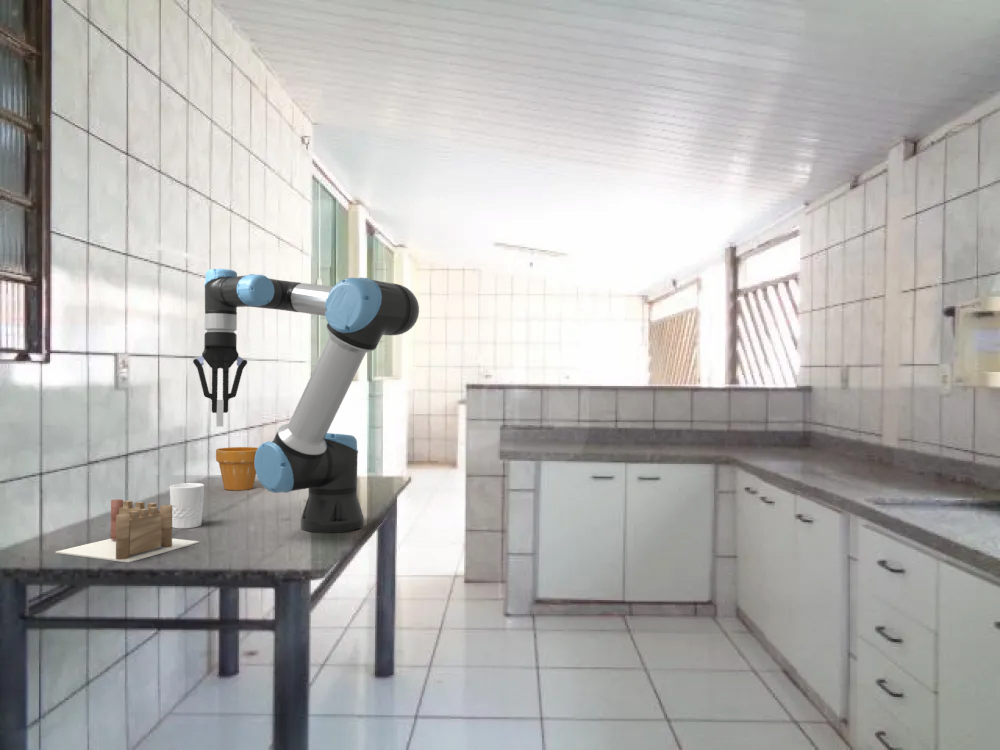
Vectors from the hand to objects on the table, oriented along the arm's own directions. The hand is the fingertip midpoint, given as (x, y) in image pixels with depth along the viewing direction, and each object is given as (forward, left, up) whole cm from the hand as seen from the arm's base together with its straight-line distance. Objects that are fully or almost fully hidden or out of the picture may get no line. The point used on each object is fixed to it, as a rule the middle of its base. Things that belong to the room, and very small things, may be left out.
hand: (219, 426), depth 186 cm
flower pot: (+35, -48, -25) cm, 64 cm away
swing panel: (+1, +25, -24) cm, 34 cm away
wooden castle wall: (-8, +31, -24) cm, 40 cm away
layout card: (-1, +28, -24) cm, 37 cm away
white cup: (+5, +5, -25) cm, 26 cm away
